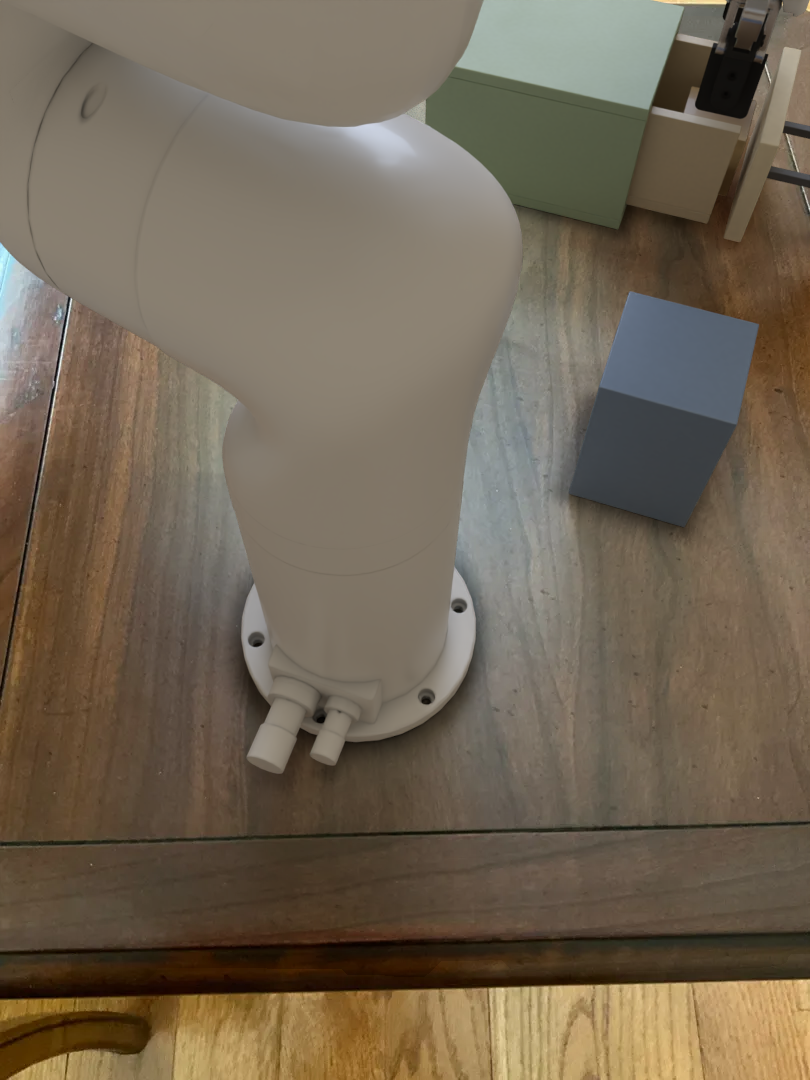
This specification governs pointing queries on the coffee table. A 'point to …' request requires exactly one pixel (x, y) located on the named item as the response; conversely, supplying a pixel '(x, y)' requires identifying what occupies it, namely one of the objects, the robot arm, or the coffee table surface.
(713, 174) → the drawer
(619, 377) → the stand
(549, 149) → the cabinet
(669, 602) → the coffee table surface
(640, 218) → the coffee table surface
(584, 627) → the coffee table surface
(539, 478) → the coffee table surface
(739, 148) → the block
